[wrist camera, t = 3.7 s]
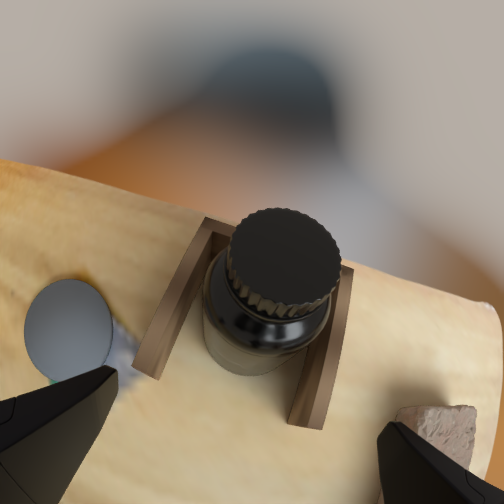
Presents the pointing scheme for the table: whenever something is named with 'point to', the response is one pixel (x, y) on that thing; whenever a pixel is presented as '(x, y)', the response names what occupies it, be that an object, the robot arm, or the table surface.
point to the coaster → (68, 330)
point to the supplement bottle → (269, 291)
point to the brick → (443, 430)
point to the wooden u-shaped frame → (179, 302)
